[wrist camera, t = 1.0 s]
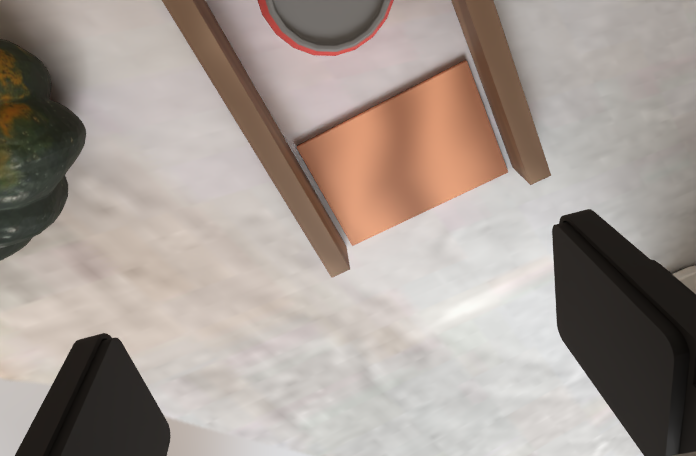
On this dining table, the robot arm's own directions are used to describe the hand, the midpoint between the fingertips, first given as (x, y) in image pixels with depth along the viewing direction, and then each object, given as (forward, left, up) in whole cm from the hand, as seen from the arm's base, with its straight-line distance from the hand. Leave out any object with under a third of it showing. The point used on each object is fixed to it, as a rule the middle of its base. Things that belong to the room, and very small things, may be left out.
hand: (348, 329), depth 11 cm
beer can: (-3, -5, -28) cm, 28 cm away
